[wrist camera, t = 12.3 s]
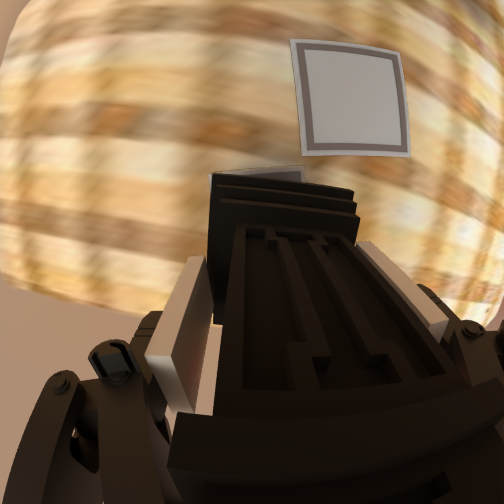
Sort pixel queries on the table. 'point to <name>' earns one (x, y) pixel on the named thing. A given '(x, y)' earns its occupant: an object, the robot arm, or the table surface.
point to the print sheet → (350, 99)
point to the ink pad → (270, 173)
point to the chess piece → (325, 370)
